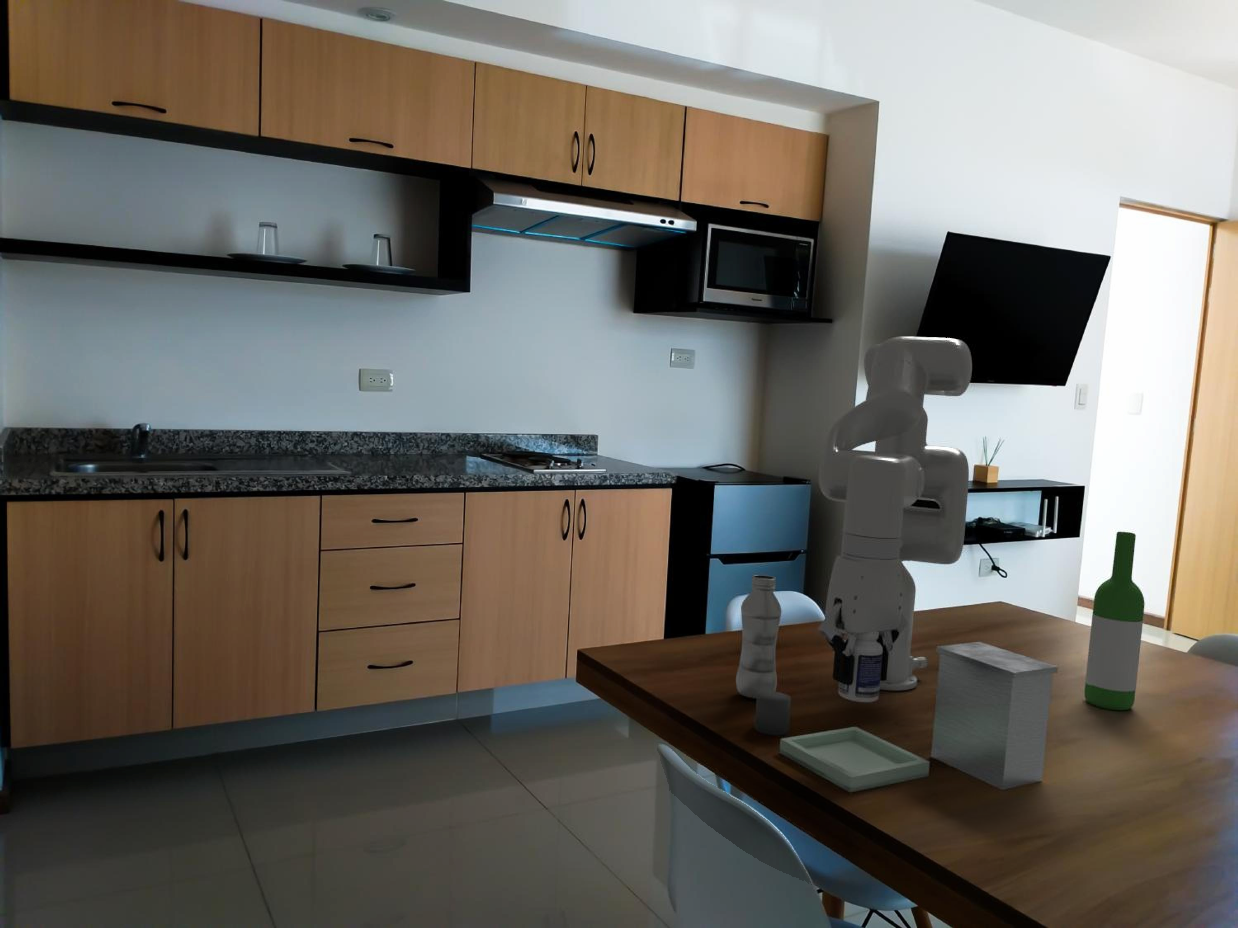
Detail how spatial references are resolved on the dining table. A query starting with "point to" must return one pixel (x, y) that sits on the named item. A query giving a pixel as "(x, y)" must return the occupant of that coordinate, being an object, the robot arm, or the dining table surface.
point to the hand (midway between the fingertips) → (859, 678)
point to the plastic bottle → (759, 638)
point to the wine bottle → (1116, 633)
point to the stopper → (772, 713)
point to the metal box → (992, 713)
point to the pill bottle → (864, 669)
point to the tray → (854, 758)
